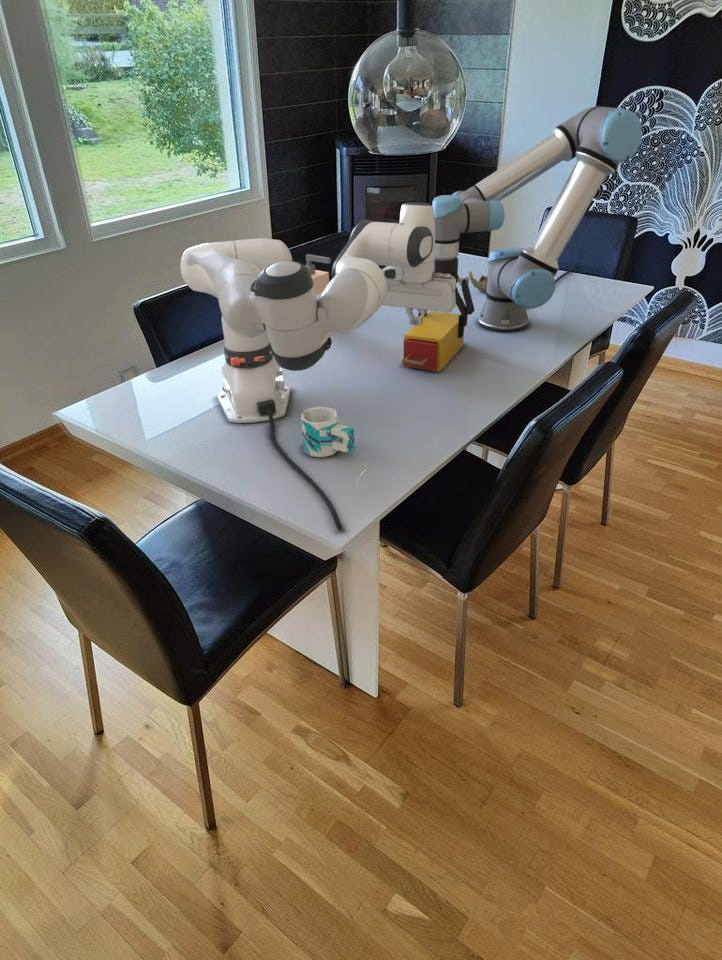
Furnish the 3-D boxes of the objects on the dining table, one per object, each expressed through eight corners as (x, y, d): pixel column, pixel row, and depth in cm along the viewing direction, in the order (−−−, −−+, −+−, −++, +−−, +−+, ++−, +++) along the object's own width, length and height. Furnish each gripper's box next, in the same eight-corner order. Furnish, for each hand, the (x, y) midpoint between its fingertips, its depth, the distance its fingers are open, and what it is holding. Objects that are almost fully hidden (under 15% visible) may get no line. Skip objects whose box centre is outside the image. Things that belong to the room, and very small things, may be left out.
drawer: (428, 378, 178) (429, 352, 174) (396, 372, 181) (395, 347, 177) (458, 345, 196) (459, 321, 192) (428, 341, 200) (428, 317, 196)
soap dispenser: (294, 325, 217) (288, 256, 206) (311, 317, 223) (306, 249, 211) (325, 332, 211) (320, 261, 199) (342, 324, 217) (338, 255, 205)
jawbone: (458, 276, 240) (475, 251, 236) (488, 295, 247) (504, 271, 244) (468, 284, 232) (486, 259, 229) (499, 304, 240) (516, 280, 236)
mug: (318, 435, 155) (315, 403, 150) (361, 448, 149) (360, 415, 145) (296, 451, 149) (293, 418, 145) (340, 465, 143) (338, 431, 139)
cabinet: (439, 371, 183) (440, 339, 178) (404, 366, 187) (404, 334, 182) (463, 345, 199) (464, 315, 194) (429, 340, 203) (430, 310, 198)
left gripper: (460, 271, 165) (458, 325, 173) (384, 264, 173) (385, 316, 180) (452, 278, 161) (450, 333, 168) (374, 270, 168) (376, 324, 176)
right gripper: (489, 256, 182) (484, 334, 194) (410, 250, 191) (410, 325, 202) (481, 264, 176) (476, 343, 188) (400, 257, 185) (400, 333, 197)
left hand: (416, 324), depth 174 cm, fingers closed
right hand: (442, 334), depth 195 cm, fingers closed on cabinet, 11 cm apart
